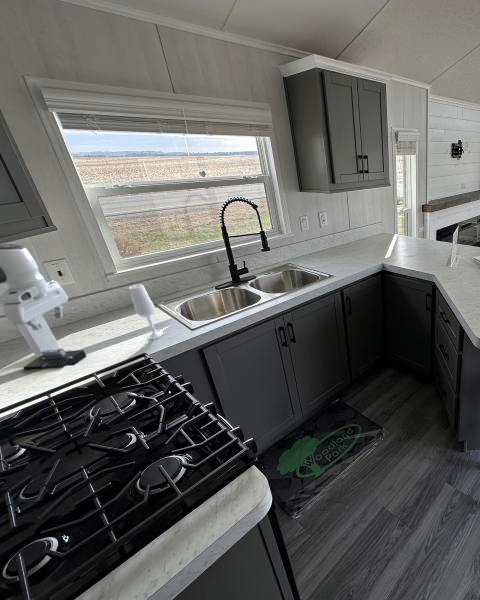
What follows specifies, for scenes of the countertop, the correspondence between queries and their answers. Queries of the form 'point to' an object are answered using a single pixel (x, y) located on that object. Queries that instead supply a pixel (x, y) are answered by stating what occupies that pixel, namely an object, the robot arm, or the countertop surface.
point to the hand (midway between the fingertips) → (49, 322)
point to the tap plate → (57, 361)
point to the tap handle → (54, 354)
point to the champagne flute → (143, 306)
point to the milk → (39, 336)
